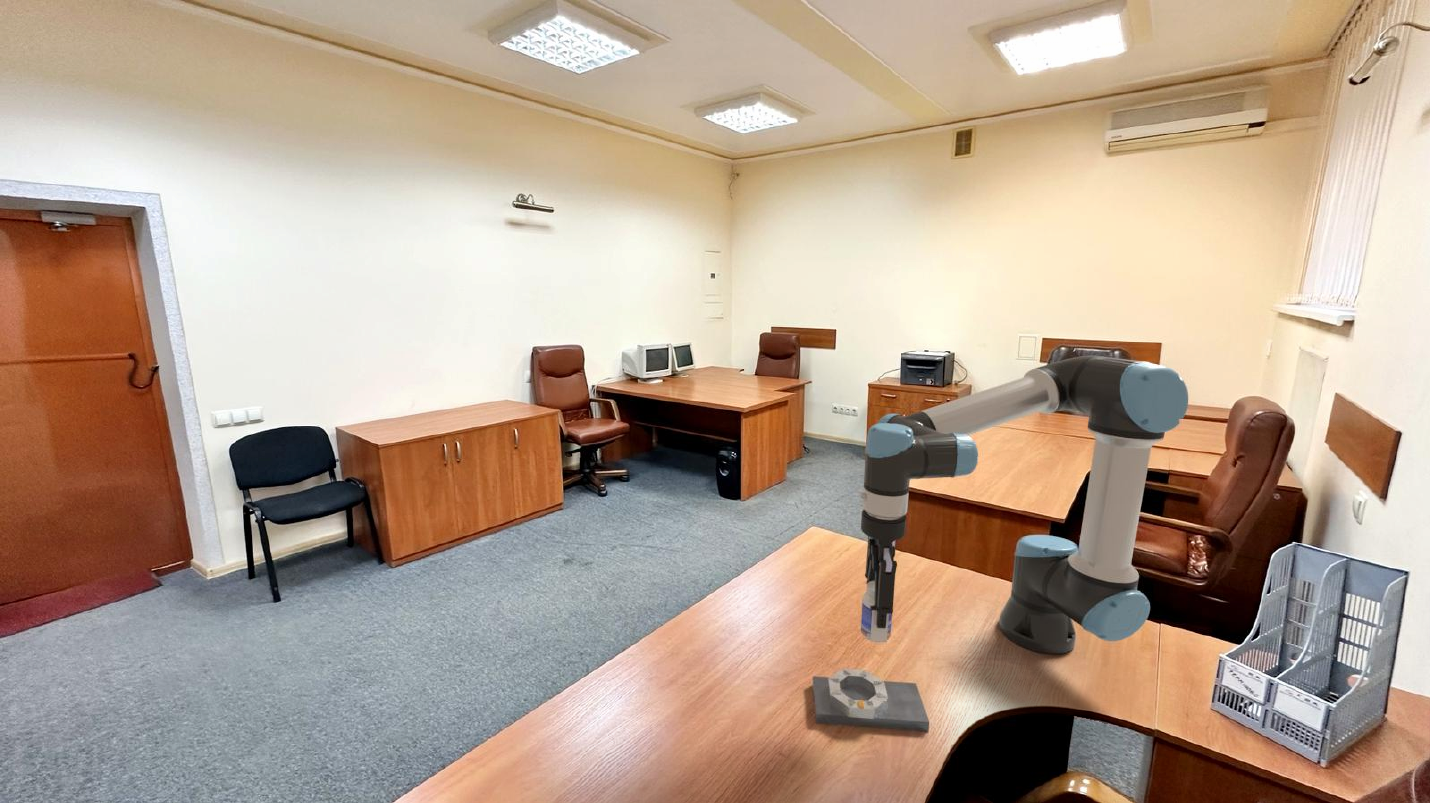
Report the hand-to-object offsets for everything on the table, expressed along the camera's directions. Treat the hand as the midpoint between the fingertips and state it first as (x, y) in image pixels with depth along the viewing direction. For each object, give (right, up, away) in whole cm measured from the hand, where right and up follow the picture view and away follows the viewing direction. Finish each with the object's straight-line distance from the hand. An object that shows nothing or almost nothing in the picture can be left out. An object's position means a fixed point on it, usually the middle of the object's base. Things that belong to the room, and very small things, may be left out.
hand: (875, 630), depth 102 cm
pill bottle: (0, -1, 0) cm, 1 cm away
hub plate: (0, -16, +4) cm, 17 cm away
